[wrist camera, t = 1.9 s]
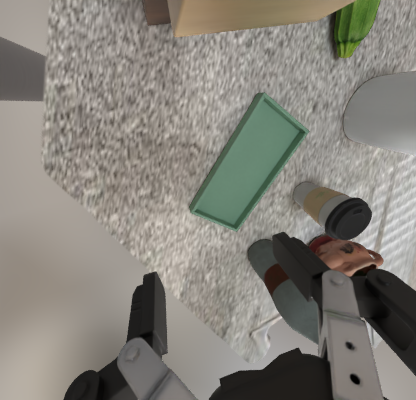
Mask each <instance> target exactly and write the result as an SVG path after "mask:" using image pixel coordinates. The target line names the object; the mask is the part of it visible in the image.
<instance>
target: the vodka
mask: <svg viewBox="0 0 416 400" xmlns="http://www.w3.org/2000/svg"><path fill="white" fill-rule="evenodd" d="M248 255H249V260H250V263H251V265H252V267H253V269H254V270H255V272H256V273H257V274H258V276H259V277H260V278H261V279H262V280H263V282H264V283H265V285H266V287H267V289H268V291H269V293H270V295H271V297H272V299H273V301H274V304H275V306H276V308H277V310H278V312H279V313H280V315H281V316H282V317H283V318H284V320H285V321H286V323H287V324H288V325H289V326H290V327H291V328H292V329H293V330H295V331H297V332H298V333H300V334H302V335H303V336H305V337H306V338H308V339H309V340H311V341H313V342H314V343H316V344H318V343H319V337H318V313H317V305H318V304H317V303H316V302H315V301H314V300H313V301H311V302H307V300H306V299H305V298H304V296H303V295H302V294H301V292H300V291H299V290H298V289H297V287H296V286H295V285H294V283H293V282H292V281H291V279H290V278H289V277H288V275H287V274H286V273H285V271H284V270H283V269H282V267H281V266H280V265H279V263H278V262H277V261H276V259H275V257H274V255H273V244H272V242H271V241H270V240H260V241H258V242H256V243H254V244H253V245H252V246H251V247H250V249H249V252H248Z"/></svg>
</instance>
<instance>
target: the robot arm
mask: <svg viewBox="0 0 416 400" xmlns="http://www.w3.org/2000/svg"><path fill="white" fill-rule="evenodd" d="M272 244H273V255H274V257H275V259H276V261H277V262H278V263H279V265H280V266H281V267H282V269H283V270H284V271H285V273H286V274H287V275H288V277H289V278H290V279H291V281H292V282H293V283H294V285H295V286H296V287H297V289H298V290H299V291H300V292H301V294H302V295H303V296H304V298H305V299H306V300H307V302H311V301H313V300H314V301H315V302H316V303H317V304H318V305H317V313H318V337H319V343H318V356H315V355H311V354H302V353H301V351H300V349H299V348H296V349H294V350H291V351H288V352H286V353H283V354H281V355H279V356H278V357H277V358H276V359H274V360H273V361H272V362H271V363H270V364H269V365H268V366H266V367H265V368H264V369H262V370H248V371H247V370H246V371H238V372H235V373H233V374H230V375H228V376H225V377H223V378H220V384H221V386H220V387H218V388H217V389H216V390H215V392H214V393H213V394H212V395H211V397H210V398H209V400H388V399H387V398H385V397H383V394H382V390H381V385H380V382H379V377H378V373H377V369H376V365H375V360H374V356H373V352H372V348H371V343H370V339H369V334H368V330H367V326H366V323H365V321H363V320H361V318H360V317H364V318H365V320H366V321H367V322H368V323H369V324H370V325H371V326H372V327H373V329H374V330H375V331H376V332H377V333H378V334H379V335H380V336H381V338H382V339H383V340H384V341H385V342H386V343H387V344H388V345H389V346H390V348H391V349H392V350H393V351H394V352H395V353H396V354H397V355H398V357H399V358H400V359H401V360H402V361H403V362H404V363H405V364H406V366H407V367H408V368H409V369H410V370H411V371H412V372H413V373H414V375H415V376H416V291H415V290H413V289H412V288H411V287H410V286H408V285H407V284H406V283H404V282H403V281H402V280H401V279H399V278H398V277H397V276H395V275H394V274H392V273H390V272H388V271H385V270H382V269H371V270H369V271H368V272H367V275H366V276H347V275H346V274H344V273H342V272H339V271H336V270H332V269H331V268H330V267H328V266H327V265H326V264H325V263H324V262H323V261H322V260H321V259H320V258H319V257H318V256H317V255H316V254H315V253H314V252H312V250H311V249H310V248H309V247H307V246H306V245H305V244H304V243H303V242H302V241H301V240H299V239H297V238H295V237H292V238H290V237H289V236H288V235H287V234H286V233H285V232H281V233H278V234H275V235H273V236H272ZM166 326H167V325H166V299H165V291H164V287H163V285H162V282H161V280H160V278H159V276H158V274H157V272H156V271H155V272H152V273H149V274H146V275H144V278H143V285H140V286H137V288H136V289H135V292H134V293H133V298H132V305H131V313H130V320H129V327H128V335H127V341H126V344H125V345H124V346H123V348H122V349H121V351H120V353H119V356H118V357H117V358H116V359H115V360H114V361H112V362H111V363H110V364H108V365H107V366H105V367H104V368H103V369H101V370H100V371H99V372H96V371H93V370H88V371H85V372H84V373H82V374H80V375H79V376H78V377H77V378H76V379H75V380H74V381H73V382H72V384H71V385H70V387H69V388H68V390H67V392H66V394H65V397H64V400H198V399H197V398H196V397H195V396H194V395H193V394H192V393H191V391H190V390H189V389H188V388H187V387H186V386H185V384H184V383H183V382H182V381H181V380H180V379H179V378H178V376H177V375H176V374H175V373H174V372H173V371H172V370H171V369H169V368H168V367H167V366H166V364H164V362H163V361H162V355H164V354H167V353H168V350H167V327H166Z"/></svg>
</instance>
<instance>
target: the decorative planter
mask: <svg viewBox="0 0 416 400" xmlns="http://www.w3.org/2000/svg"><path fill="white" fill-rule="evenodd" d="M309 248H310V249H311V250H312V252H314V253H315V254H316V255H317V256H318V257H319V258H320V259H321V260H322V261H323V262H324V263H325V264H326V265H327V266H328V267H330V268H331V269H332V270H336V271H339V272H342V273H344V274H346V275H347V276H366V275H367V272H368V271H369V270H371V269H378V266H380V265H382V264H383V261H384V260H383V258H382V257H381V255H380V254H378V253H376V252H374V251H372V250H368V249H366V248H365V247H364V246H362V245H361V244H359V243H356V242H352V241H348V240H340V239H334V238H332V237H330V236H328V235H323V236H320V237H318V238H316V239H315V240H313V241H312V242H311V244H310V245H309ZM369 254H371V255H373V256H374V258H375V259H373V258H372V257H371V256H370V255H369Z"/></svg>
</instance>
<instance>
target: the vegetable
mask: <svg viewBox="0 0 416 400" xmlns="http://www.w3.org/2000/svg"><path fill="white" fill-rule="evenodd" d="M379 3H380V0H356V1H354V2H352V3H350V4H348V5H346V6H345V7H343V8H341V9H339V10H337V13H336V21H335V28H334V39H335V42H336V43H337V52H338V57H341V58H348V57H351V56H352V54H353V52H354V50H355V49H356V48H357V46H358V45H359V44H360V42H361V41H362V40H363V39H364V38H365V37H366V35H367V34H368V33H369V31H370V29H371V27H372V25H373V23H374V20H375V17H376V14H377V10H378V7H379Z"/></svg>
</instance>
